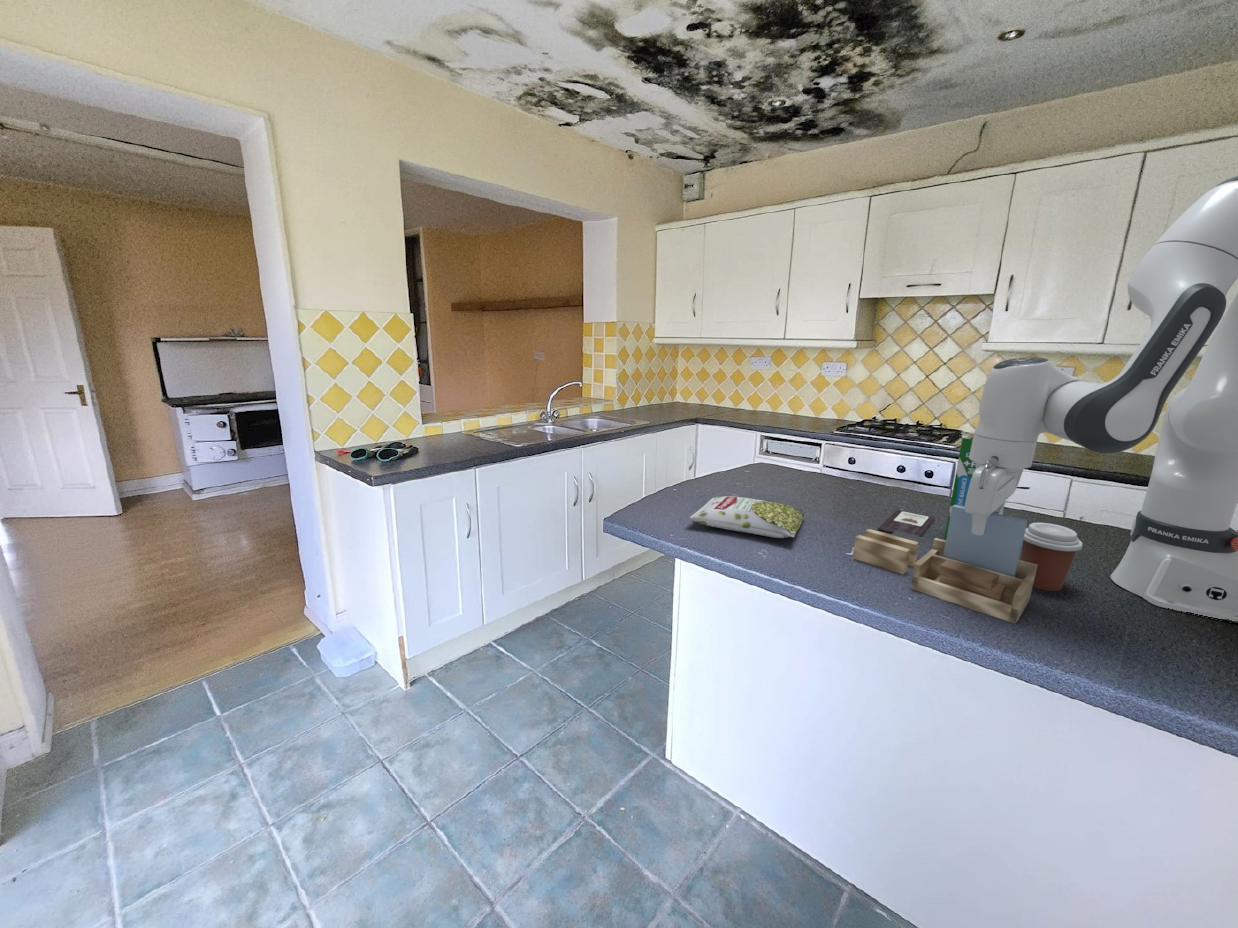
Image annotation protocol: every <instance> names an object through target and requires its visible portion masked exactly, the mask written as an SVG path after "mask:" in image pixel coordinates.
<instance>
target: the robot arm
mask: <svg viewBox="0 0 1238 928" xmlns="http://www.w3.org/2000/svg"><path fill="white" fill-rule="evenodd" d="M1237 280H1238V175H1237V176H1234V177H1233V176H1232V177H1231V178H1229V179H1228V178H1227V179H1226V180H1224V181H1222V182H1220V183H1219V184H1217V185H1216V186H1214V187H1213V188H1211V189H1209V190H1208V191H1206V192H1205V193H1204V194H1203V195H1202V196H1200V197H1199V198H1198V199H1197V200H1196V201H1195V202H1194V203H1192V204H1191V206H1189V207H1187V209H1186V210H1184V212H1183V213H1182V214H1181V215H1180V216H1178V218H1177V219H1176V220H1175V221H1174V222H1173V223H1172V224H1171V225H1170V226H1169V227H1168V228H1167V229H1166V230H1165V232H1163V234H1161V236H1159V238H1158V239H1157V241H1155V242H1154V244H1153V245H1152V247H1151V248H1150V249H1149V250H1148V251H1147V252H1146V254H1145V255H1144V256H1143V258H1142V259H1141V261H1140V262H1139V263H1138V264H1137V266H1136V267H1135V268H1134V270H1133V272H1132V275H1131V276H1130V278H1129V281H1128V282H1127V293H1128V298H1129V299H1130V301H1131V303H1132V304H1133V306H1134V307H1135V308H1136V309H1138V310H1139V311H1141V312H1142V313H1144V314H1145V315H1147V316H1148V317H1149V318H1150V325H1149V326H1150V327H1149V329H1148V332H1147V334H1146V335H1145V336H1144V338H1143V339H1142V341H1141V343H1140V344H1139V345H1138V347H1137V348H1136V349H1135V351H1134V353H1132V355H1131V356H1130V358H1129V360H1128V362H1126V364H1125V366H1124V367H1123V368H1122V370H1121V371H1120V373H1119V374H1118V375H1116V376H1115V377H1114V378H1113V379H1110V380H1109V381H1106V382H1104V383H1100V382H1093V381H1089V380H1083V379H1080V377H1076V376H1073V375H1072V374H1069V373H1067V372H1065V371H1063V370H1061V369H1059V368H1058V367H1056V366H1055V365H1053V363H1051V361H1050V359H1048V358H1044V357H1039V356H1038V357H1037V356H1036V357H1032V356H1030V357H1029V356H1028V357H1017V358H1010V359H1009V358H1008V359H1005V360H1002V361H1000V362H998V363H996V364H995V365H994V366H993V367H992V368H991V369H990V371H989V373H988V376H987V378H986V380H985V384H984V386H983V390H982V394H981V399H980V402H979V407H978V411H979V421H978V423H977V425H976V427H975V429H974V432H973V436H972V439H973V441H972V446H971V450H970V455H969V459H970V460H972V461H974V462H977V463H976V470H975V471H974V473H973V475H972V478H971V482H970V486H969V490H968V493H967V498H966V502H965V512H967V513H970V514H972V522H973V525H972V530H971V532H972V533H973V534H976V535H980V536H982V535H983V534H984V533H985V531H986V527H987V525H986V523H987V519H988V517H989V516H990V515H991V514H992V513H996V514H1000V511H1001V509H1002V507H1003V504H1004V502H1005V503H1006V501H1007V500H1008V499H1009V498H1010V497H1011V496H1012V495H1014V493H1015V492H1016V490H1017V487H1018V486H1019V483H1020V481H1021V477H1022V474H1023V471H1024V469H1029V468H1031V467H1032V464H1033V460H1034V455H1035V452H1036V448H1037V443H1038V438H1039V435H1040V434H1044V433H1047V434H1050V435H1053V436H1054V437H1057V438H1059V439H1064V440H1066V441H1068V442H1072V443H1075V444H1077V445H1079V446H1081V447H1082V448H1085V449H1087V450H1089V451H1091V452H1095V453H1098V454H1115V453H1121V452H1124V451H1126V450H1129V449H1132V448H1134V447H1135V446H1137V445H1139V444H1140V443H1141V442H1143V441H1145V440H1146V439H1147V438H1148V436H1149V435H1150V434H1151V433H1152V432H1153V431H1154V429H1155V426H1156V425H1157V423H1158V421H1159V419H1160V416H1161V414H1162V411H1163V408H1164V406H1165V403H1166V401H1167V400H1168V398H1169V396H1170V395H1171V393H1172V392H1173V390H1174V389H1175V387H1176V386H1177V385H1178V383H1179V381H1180V380H1181V378H1182V377H1183V376H1184V374H1185V373H1186V371H1187V370H1188V369H1189V368H1190V366H1191V364H1192V363H1193V362H1194V361H1195V360H1196V357H1197V356H1198V354H1199V353H1200V352H1201V351H1202V349H1203V348H1204V346H1205V344H1206V345H1207V346H1206V348H1205V350H1204V353H1203V355H1202V357H1201V359H1200V362H1199V364H1198V366H1197V368H1196V370H1195V373H1194V374H1193V376H1192V378H1191V380H1190V382H1189V383H1188V386H1187V387H1184V388H1183V389H1181V390H1180V391H1178V392H1177V393H1175V394H1174V396H1172V397H1171V398H1170V399H1169V401H1168V402H1167V405H1166V407H1165V411H1164V415H1163V419H1162V423H1161V428H1160V430H1159V431H1160V432H1159V436H1158V441H1157V445H1156V446H1157V447H1156V451H1155V455H1154V459H1153V466H1152V471H1151V474H1150V478H1149V482H1148V486H1147V488H1146V492H1145V496H1144V499H1143V502H1142V506H1141V510H1139V511H1138V512H1137V513H1136V516H1135V517H1134V519H1133V523H1132V525H1131V526H1132V527H1131V530H1130V542H1129V545H1128V547H1127V549H1126V552H1125V554H1124V555H1123V557H1122V559H1121V561H1120V563H1119V564H1118V565H1117V567H1116V568H1115V569H1114V571H1113V572H1112V573H1111V574H1110V579H1111V580H1112V582H1114V583H1115V584H1116V585H1118V586H1119V587H1121V588H1122V589H1124V590H1126V591H1129V592H1130V593H1132V594H1134V595H1137V596H1139V597H1142V598H1143V599H1144V600H1146V601H1147V602H1148V603H1150V604H1152V605H1154V606H1157V607H1160V608H1164V609H1168V608H1169V609H1168V610H1172V609H1173V611H1178V612H1181V611H1182V613H1186V612H1191V613H1194V614H1193V615H1195V614H1198V615H1197V616H1199V615H1203V616H1202V617H1204V616H1208V617H1213V618H1218V619H1229V620H1232V621H1238V530H1237V529H1236V530H1235V529H1233V528H1232V527H1230V526H1231V523H1232V520H1233V517H1234V515H1235V511H1236V508H1237V504H1238V292H1237V293H1236V295H1235V297H1234V298H1233V300H1232V301H1231V303H1230V305H1229V307H1228V308H1227V298H1226V296H1227V294H1228V292H1229V291H1230V289H1231V287H1233V284H1234V283H1235V282H1236V281H1237ZM1226 308H1227V310H1226ZM1225 311H1226V312H1225ZM1210 337H1211V338H1210ZM1209 339H1210V340H1209ZM1208 340H1209V341H1208ZM1207 342H1208V343H1207ZM1208 617H1207V618H1208ZM1213 618H1212V619H1213Z"/></svg>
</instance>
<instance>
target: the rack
mask: <svg viewBox="0 0 1238 928" xmlns="http://www.w3.org/2000/svg"><path fill="white" fill-rule="evenodd" d="M945 544H946V540H944V539H941V538H938V537H935V538H933V543H932V548H931V549H930V550H929V551H928V552H926V554H924V555H923V556H922V557H921V558H920V559H918V560H916V563H915V564H914V566H913V571H912V576H911V583H910V588H909V589H910V590H913V591H917V592H919V593H922V594H926V595H929V596H931V597H934V598H938V599H941V600H943V601H945V602H949V603H952V604H954V605H955V604H956V605H958V606H961V607H964V608H968V609H970V610H973V611H976V612H979V613H982V614H985V615H988V616H991V617H994V618H998V619H999V620H1002V621H1006V622H1009V623H1011V624H1014V625H1016V624H1017V622H1018V621H1019V619H1020V617H1021V615H1022V614H1023V612H1024V611H1025V609H1026V608H1027V606H1028V604H1029V602H1030V600H1031V595H1032V591H1033V588H1034V587H1033V583H1034V579H1035V575H1036V570H1037V566H1038V565H1037V564H1033V563H1029V562H1026V561H1022V560H1021V559H1019V561H1018V566H1017V570H1016V575H1015V577H1012V576H1009V575H1005V574H1002V573H998V572H995V571H991V570H988V569H984V568H981V567H977V566H973V565H970V564H966V563H963V562H960V563H963V564H966V565H970V566H973V567H976V568H980V569H983V570H986V571H990V572H993V573H996V574H999V579H998V583H999V584H1002V585H1006V587H1005V591H1004V595H1003V597H1002V599H1001V601H997V600H994V599H990V598H987V597H984V596H981V595H978V594H975V593H971V592H968V591H965V590H962V589H959V588H956V587H952V586H949V585H946V584H943V583H940V582H937V581H935V580H936V579H937V578H938V577H939V576H941V575H940V574H939V569H940V565H941V564H942V563H944V562H945V561H946V560H948V559H949V558H945V557H943V555H944V549H945ZM950 560H952V559H950ZM953 561H956V560H953ZM956 562H959V561H956Z"/></svg>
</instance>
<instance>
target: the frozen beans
mask: <svg viewBox="0 0 1238 928" xmlns="http://www.w3.org/2000/svg"><path fill="white" fill-rule="evenodd" d="M806 513H807V511H803V509H802V510H801V509H798V508H796V507H793V506H792V505H788V504H785V503H778V502H774V501H767V500H763V499H757V498H750V497H741V496H740V497H739V496H734V495H733V496H731V495H728V496H727V495H726V496H723V495H722V496H721V495H720V496H716V497H712V498H711V499H710V500H708V501H707V503H705V504H704V505H703V506H702V507H701V508H700V509H698V510H697V511H696V512H695V513H693V514H692V515H691V516H689V517H688V519H691V520H692V521H694V522H695V523H698V524H700V525H704V526H709V527H713V528H718V529H722V530H728V531H729V530H730V531H734V532H740V533H746V534H753V535H758V536H764V537H769V538H775V539H787V538H795V536H796V534H797V532H798V531H799V528H800V527H801V524H802V523H803V520H804V517H805V516H806V515H807V514H806Z"/></svg>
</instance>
